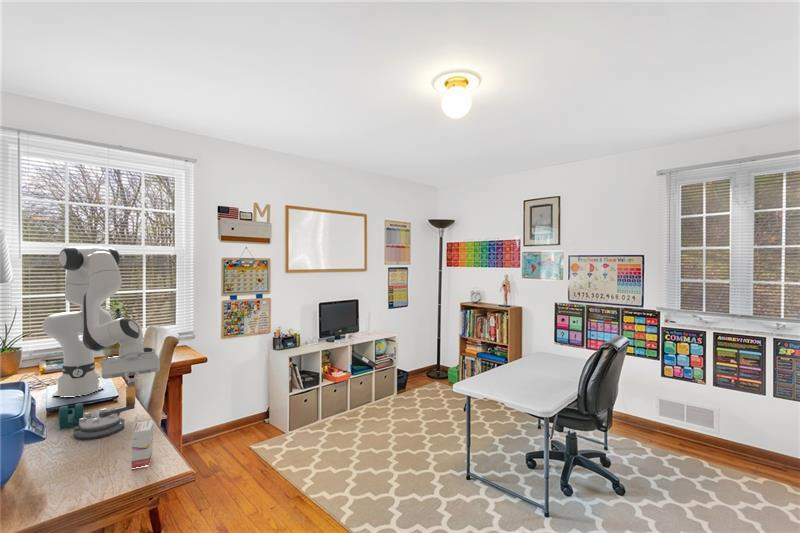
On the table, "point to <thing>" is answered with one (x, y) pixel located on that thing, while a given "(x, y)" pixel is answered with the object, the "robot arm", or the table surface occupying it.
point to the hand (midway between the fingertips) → (132, 383)
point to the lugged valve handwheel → (107, 415)
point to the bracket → (70, 416)
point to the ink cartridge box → (141, 443)
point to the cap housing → (99, 432)
